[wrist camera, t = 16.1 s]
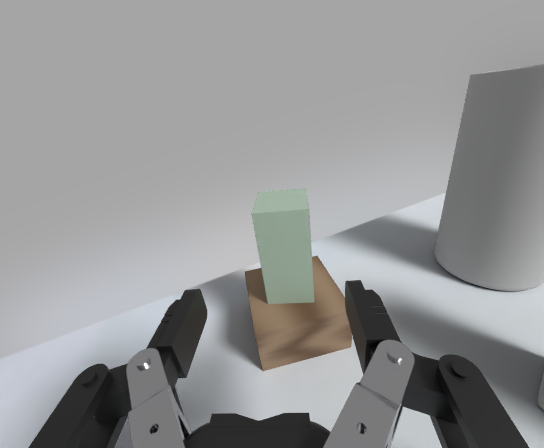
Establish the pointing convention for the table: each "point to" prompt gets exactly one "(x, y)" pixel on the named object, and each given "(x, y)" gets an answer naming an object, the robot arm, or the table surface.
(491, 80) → the cylinder vase
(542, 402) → the coffee box
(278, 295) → the sage block
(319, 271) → the walnut block
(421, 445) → the table surface
